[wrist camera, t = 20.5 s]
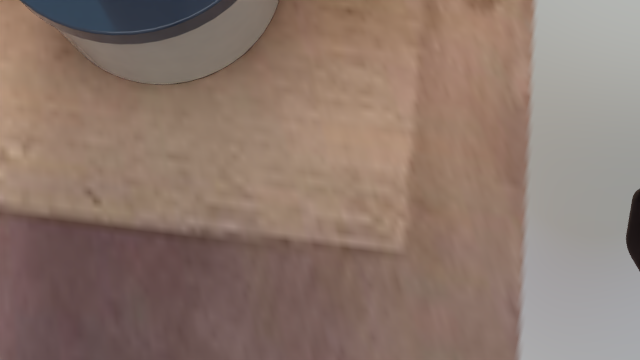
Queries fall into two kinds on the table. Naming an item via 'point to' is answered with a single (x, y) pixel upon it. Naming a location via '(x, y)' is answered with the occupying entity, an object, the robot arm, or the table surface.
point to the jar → (158, 34)
